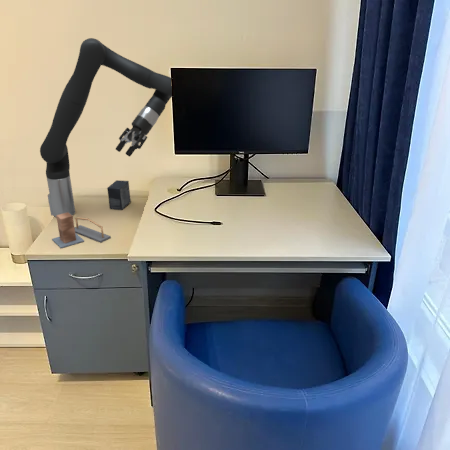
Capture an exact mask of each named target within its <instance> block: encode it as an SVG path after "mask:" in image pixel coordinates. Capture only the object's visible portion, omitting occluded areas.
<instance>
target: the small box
mask: <svg viewBox="0 0 450 450" xmlns="http://www.w3.org/2000/svg"><path fill="white" fill-rule="evenodd" d="M106 189H107V190H106V191H107V195H108V196H107V198H108V205H109V210H115V211H116V210H117V211H123V210H124V209H126V207H128V205H129V204H130V203H131V202H132V201H131V200H132V199H131V191H130V182H129V180H115V181H114V182H113V183H112V184H111V183H110V185H109V186H107V188H106Z"/></svg>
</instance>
